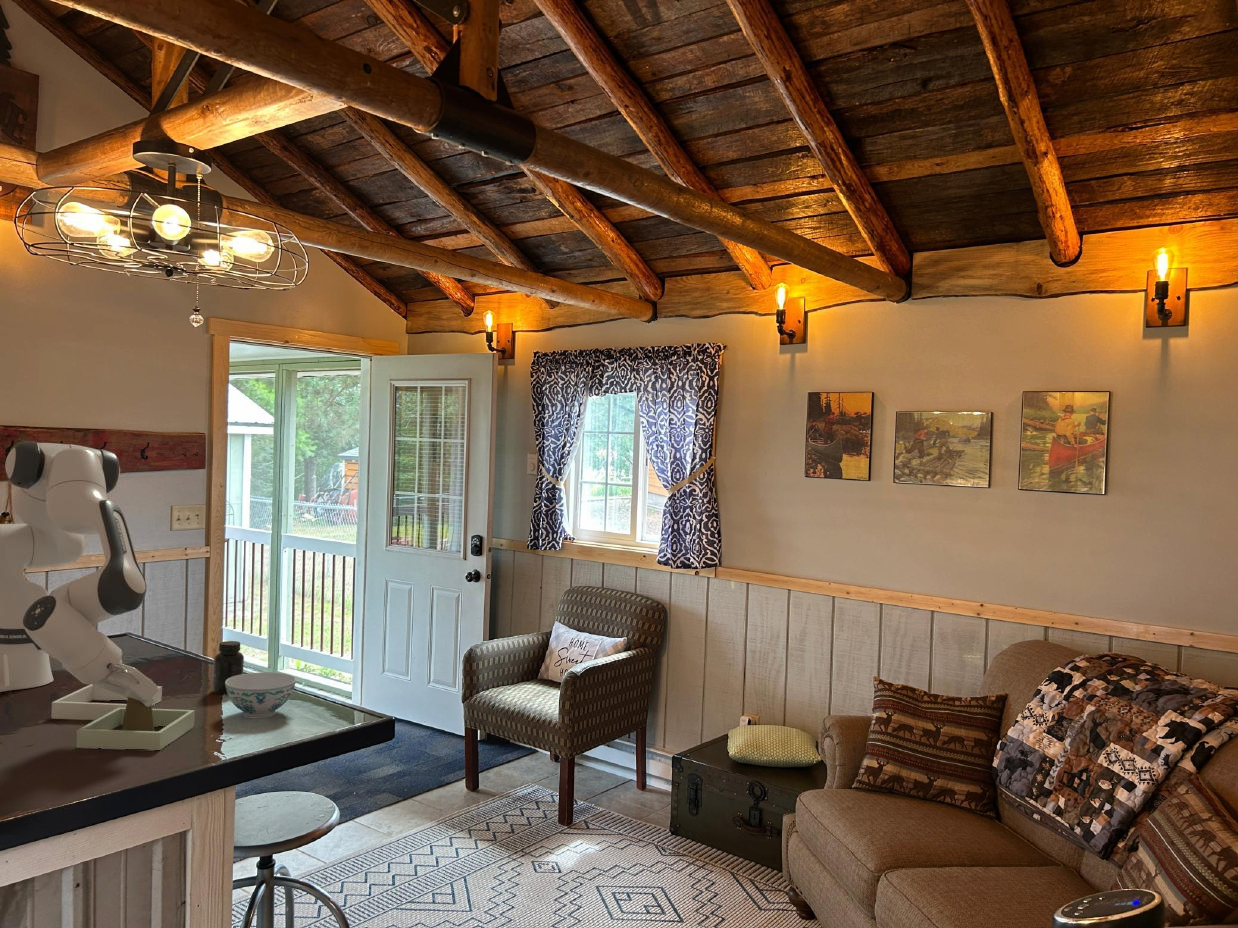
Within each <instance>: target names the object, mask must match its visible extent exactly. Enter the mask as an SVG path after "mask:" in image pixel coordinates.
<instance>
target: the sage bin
mask: <svg viewBox="0 0 1238 928" xmlns="http://www.w3.org/2000/svg"><path fill="white" fill-rule="evenodd" d="M125 710H126V708H117V709H115V710H113V711H111V712H109V713H108V714H106V715H104V716H102V717H100V718H98V719H97V720H92V721H91V722H90V723H88V724H86V725H83V726H82V727H80V728H77V730H76V746H75V747H76V748H75V749H96V750H97V749H98V748H101V750H125V749H149V750H148V751H154V750H160V751H162V750H163V749H164V748H166V747H168V744H169V745H170V744H171V743H173V742H175V741H176V740H177V739H178V738H180V737H181V736H183V735H185V733H187V732H188V731H190V730H191V729H193V728H194V727H195V715H196V711H195V710H194V709H193V710H192V709H172V708H171V709H169V708H168V709H167V708H152V713H153V724H154V727H158V726H163V728H162V729H160V730H159V731H155V730H154V731H127V730H122V729H116V728H117V727H119V726H122V725H123V720H124V715H125ZM164 726H165V727H164ZM115 727H116V728H115ZM113 728H114V729H113ZM165 746H166V747H165ZM98 750H99V749H98Z"/></svg>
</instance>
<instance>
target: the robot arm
mask: <svg viewBox="0 0 1238 928" xmlns="http://www.w3.org/2000/svg"><path fill="white" fill-rule="evenodd" d="M5 472H6V479H7V480H8V481H9V483H11V485H13V486H15V487H17V488H16V490H15V493H14V496H13V498H12V503H11V504H12V505H11V507H12V510H13V513H14V514H15V516H16V517H17V518H18V519H19V520H21V522H23V523H0V693H2V692H7V691H13V690H15V691H17V690H24V689H31V688H37V687H41V686H45V685H47V684H51V683H52V682H54V677H53V672H52V668H51V663H50V658H53V659H54V660H58V661H59V662H60V663H61V667H62V669H64V670H65V671H66V672H68V673H70V674H71V675H72V676H73V677H74V678H76V679H77V680H78V681H80V682H81V684H83V685H86V686H88V685H91V684H92V685H94V686H97V687H100V688H103V689H106V690H109V691H112V692H115V693H118V694H121V695H122V696H124V697H125V698H127V699H128V697H130V698H133V699H136V700H139V702H140V703H142V704H143V705H144V706H147V707H149V706H150V705H151V704H152V703H153V702H154V699H153V698H152V697H153V696H154V695H155V694H156V693H157V691H158V687H157V686H158V685H157V684H156V683H155V682H154V681H153V682H154V683H153V682H152V681H151V680H149V679H148V678H149V677H147V676H146V675H144V674H143V672H141V671H140V670H138V669H137V668H135V667H133V666H130V665H126V664H124V663H123V660H122V657H123V651H122V649H121V648H120V647H119V646H118V645H117V644H115V643H114V642H113V640H111V639H110V638H109V637H108V636H107V635H105V633H103V632H101V631H98V630H97V626H98V624H100V623H101V622H104V621H105V620H108V619H110V618H114V617H116V616H120V615H123V614H126V613H129V612H132V611H135V610H137V609H139V607H140V606H141V604H143V601H144V599H145V597H146V594H147V582H146V579H145V577H144V575H143V573H142V570H141V569H140V567H139V566H140V565H139V564H138V560H137V556H136V553H135V549H134V546H133V542H132V538H131V535H130V531H129V528H128V524H127V521H126V518H125V515H124V513H123V511H122V509H121V508H120V507H119V505H117V504H116V503H115V501H112V500H108V495H107V494H109V493H110V492H112V491H113V490H114V489H115V488H116V486H117V483H118V482H119V480H120V475H121V467H120V460H119V458H118V457H117V455H116V454H115V453H114V452H111V451H108V450H106V449H102V448H98V449H96V448H92V447H88V446H84V445H78V444H77V445H76V444H72V443H71V444H70V443H67V444H65V443H53V442H37V441H34V440H32V441H31V440H30V441H20V442H17V443H16V444H14V445H13V446H12V447H11V450H10V452H9V453H8V455H7V456H6V460H5ZM85 535H86V536H87V535H99V538H100V542H101V543H100V544H101V547H102V551H103V554H104V555H103V556H104V559H105V562H104V563H103V565H102V566H101V567H100V568H99V569H98V570H95V571H94V572H91V573H89V574H87V575H84V576H82V577H79V578H77V579H74V580H72V581H70V582H68V583H65V584H63V585H62V584H61V585H60V586H58V587H57V588H55V589H54V590H52V591H51V592H50V593H49V592H48V590H47V589H46V588H45V587H44V586H42V585H39V584H37V583H35V582H33V581H30V580H27V579H26V577H25V570H26V569H40V568H41V569H43V568H57V567H61V566H65V565H71V564H74V563H77V561H79V560H80V559H81V557H82V556H83V554H84V552H85V549H86V539H85Z"/></svg>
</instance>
